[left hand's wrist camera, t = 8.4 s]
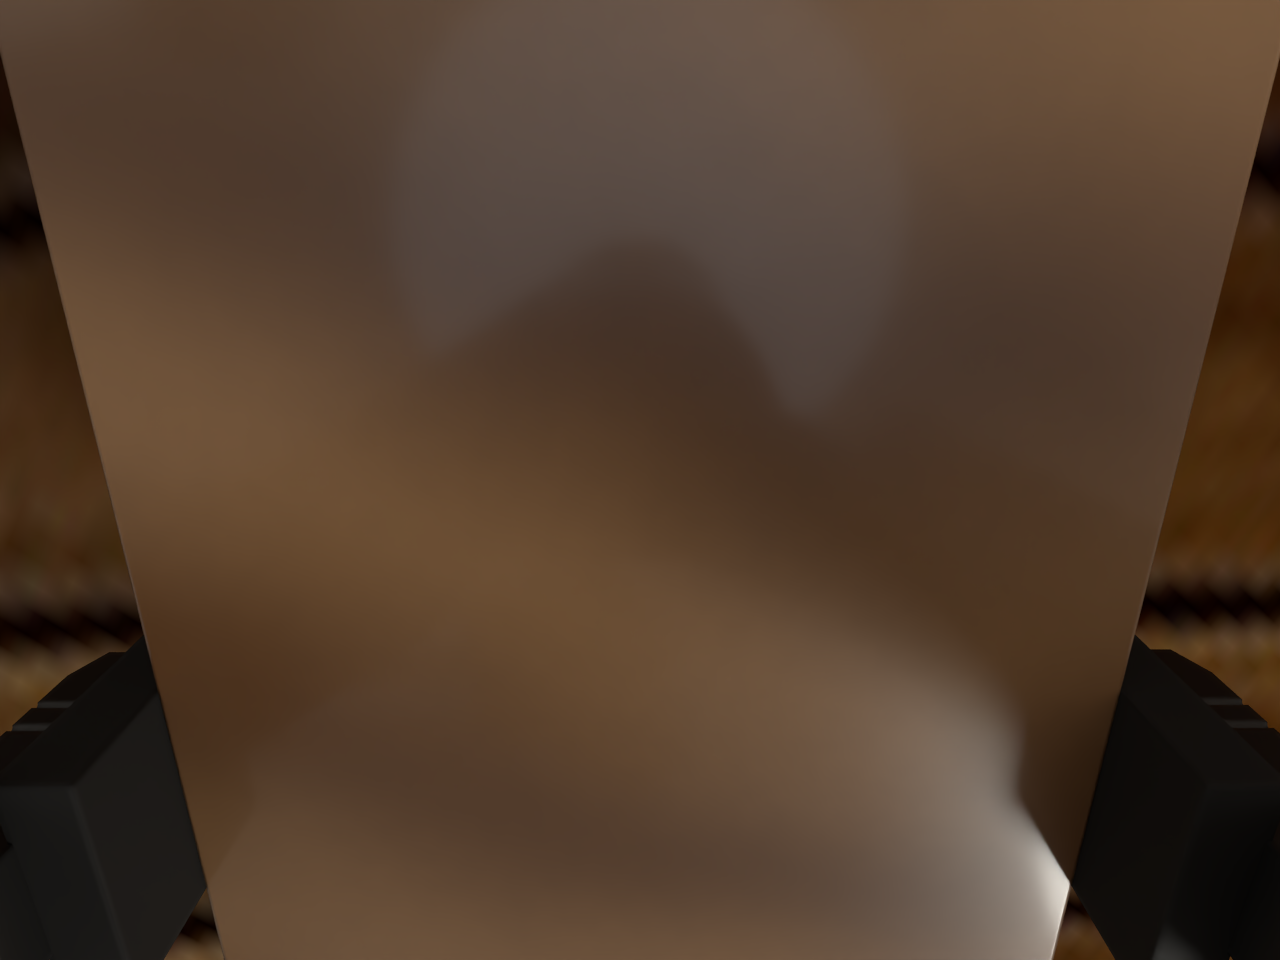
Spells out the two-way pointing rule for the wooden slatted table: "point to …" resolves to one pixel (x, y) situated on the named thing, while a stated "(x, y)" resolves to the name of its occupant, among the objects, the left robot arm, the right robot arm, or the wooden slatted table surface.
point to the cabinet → (639, 444)
